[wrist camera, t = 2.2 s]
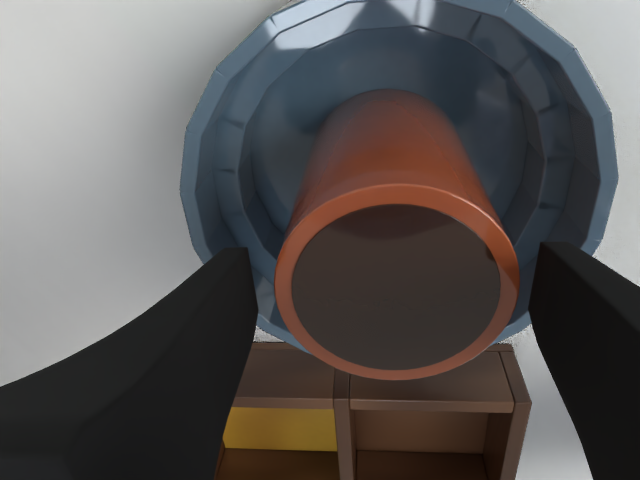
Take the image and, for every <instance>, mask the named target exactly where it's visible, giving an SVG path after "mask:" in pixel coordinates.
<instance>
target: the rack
mask: <svg viewBox="0 0 640 480" xmlns="http://www.w3.org/2000/svg"><path fill="white" fill-rule="evenodd" d="M531 405H532V402H531V399H530V396H529V393H528V390H527V388H526V385H525V382H524V379H523V376H522V374H521V371H520V368H519V365H518V362H517V360H516V357H515V354H514V351H513V348H512V345H511V344H493V345H491V346H489V347H487V348H486V349H485V350H484V351H483V352H481V353H480V354H479V355H477V356H476V357H474V358H473V359H471V360H469V361H468V362H466V363H464V364H462V365H460V366H458V367H456V368H454V369H451V370H449V371H446V372H443V373H440V374H437V375H433V376H429V377H424V378H418V379H410V380H380V379H373V378H366V377H362V376H358V375H354V374H350V373H348V372H345V371H342V370H339V369H337V368H335V367H333V366H331V365H329V364H327V363H325V362H323V361H322V360H320V359H318V358H317V357H315V356H314V355H311V354H309V353H306V352H304V351H302V350H300V349H298V348H296V347H294V346H292V345H291V344H289V343H253V344H252V347H251V350H250V353H249V356H248V359H247V362H246V365H245V368H244V371H243V374H242V377H241V380H240V383H239V386H238V389H237V392H236V395H235V398H234V401H233V404H232V407H231V410H230V413H229V416H228V420H227V423H226V427H225V430H224V434H223V438H222V443H221V447H220V452H219V457H218V461H217V466H216V470H215V475H214V480H515V477H516V473H517V468H518V463H519V459H520V454H521V450H522V445H523V441H524V436H525V432H526V427H527V423H528V418H529V414H530V409H531Z"/></svg>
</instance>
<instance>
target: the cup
mask: <svg viewBox="0 0 640 480" xmlns="http://www.w3.org/2000/svg"><path fill="white" fill-rule="evenodd" d="M519 289H520V271H519V264H518V260H517V256H516V253H515V251H514V249H513V246H512V244H511V242H510V240H509V238H508V236H507V233H506V231H505V229H504V227H503V225H502V223H501V221H500V219H499V217H498V215H497V213H496V210H495V208H494V206H493V204H492V202H491V200H490V198H489V196H488V194H487V192H486V190H485V188H484V185H483V183H482V181H481V179H480V177H479V175H478V173H477V171H476V169H475V167H474V165H473V162H472V160H471V158H470V156H469V154H468V152H467V150H466V148H465V146H464V144H463V142H462V139H461V137H460V135H459V133H458V131H457V129H456V127H455V125H454V124H453V122H452V121H451V119H450V118H449V117H448V115H447V114H446V113H445V112H444V111H443V110H442V109H441V108H440V107H439V106H437V105H436V104H435V103H433V102H432V101H430V100H429V99H427V98H425V97H423V96H421V95H418V94H416V93H413V92H409V91H406V90H399V89H378V90H372V91H368V92H364V93H361V94H358V95H356V96H353V97H351V98H349V99H348V100H346V101H344V102H342V103H341V104H340V105H338V106H337V107H336V108H334V109H333V110H332V111H331V112H330V113H329V114H328V115H327V116H326V118H325V119H324V120H323V122H322V123H321V124H320V126H319V128H318V129H317V131H316V133H315V135H314V138H313V140H312V143H311V146H310V150H309V153H308V157H307V160H306V163H305V167H304V170H303V174H302V177H301V180H300V184H299V187H298V191H297V194H296V197H295V201H294V204H293V208H292V211H291V214H290V218H289V221H288V224H287V228H286V231H285V235H284V238H283V241H282V245H281V248H280V252H279V255H278V259H277V263H276V266H275V272H274V295H275V299H276V303H277V307H278V310H279V312H280V315H281V317H282V319H283V321H284V323H285V325H286V326H287V328H288V330H289V331H290V332H291V334H292V335H293V336H294V338H295V339H296V340H297V341H298V342H299V343H300V344H301V345H302V346H303V347H304V348H305V349H306V350H308V351H309V352H310V353H311V354H313V355H314V356H315V357H317V358H318V359H320V360H322V361H323V362H325V363H327V364H329V365H331V366H333V367H335V368H337V369H339V370H342V371H345V372H348V373H350V374H354V375H358V376H362V377H366V378H373V379H380V380H410V379H418V378H424V377H429V376H433V375H437V374H440V373H443V372H446V371H449V370H451V369H454V368H456V367H458V366H460V365H462V364H464V363H466V362H468V361H469V360H471V359H473V358H474V357H476V356H477V355H479V354H480V353H481V352H483V351H484V350H485V349H486V348H487V347H489V346H490V345H491V344H492V343H493V342H494V341H495V340H496V339H497V337H498V336H499V335H500V334H501V333H502V331H503V330H504V328H505V327H506V325H507V324H508V322H509V320H510V319H511V316H512V314H513V312H514V310H515V307H516V304H517V300H518V296H519Z"/></svg>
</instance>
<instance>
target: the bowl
mask: <svg viewBox="0 0 640 480" xmlns="http://www.w3.org/2000/svg"><path fill="white" fill-rule="evenodd" d="M378 89H399V90H406V91H409V92H413V93H416V94H418V95H421V96H423V97H425V98H427V99H429V100H430V101H432V102H433V103H435V104H436V105H437V106H439V107H440V108H441V109H442V110H443V111H444V112H445V113H446V114H447V115H448V117H449V118H450V119H451V121H452V122H453V124H454V125H455V127H456V129H457V131H458V133H459V135H460V137H461V139H462V142H463V144H464V146H465V148H466V150H467V152H468V154H469V156H470V158H471V160H472V162H473V165H474V167H475V169H476V171H477V173H478V175H479V177H480V179H481V181H482V183H483V185H484V188H485V190H486V192H487V194H488V196H489V198H490V200H491V202H492V204H493V206H494V208H495V210H496V213H497V215H498V217H499V219H500V221H501V223H502V225H503V227H504V229H505V231H506V233H507V236H508V238H509V240H510V242H511V244H512V246H513V249H514V251H515V253H516V256H517V260H518V264H519V271H520V289H519V296H518V300H517V304H516V307H515V310H514V312H513V314H512V316H511V319H510V320H509V322H508V324H507V325H506V327H505V328H504V330H503V331H502V333H501V334H500V335H499V336H498V337H497V339H496V340H495V341H494V342H493V343H492V344H491V345H493V344H495V343H497V342H500V341H502V340H504V339H506V338H508V337H510V336H512V335H514V334H516V333H518V332H520V331H522V329H525V328H526V327H527V326H528V325H529V324H531V319H530V315H529V312H528V305H529V299H530V294H531V289H532V283H533V278H534V273H535V267H536V262H537V257H538V251H539V246H540V242H558V241H567V242H569V243H571V244H573V245H575V246H576V247H578V248H580V249H581V250H583V251H584V252H586V253H587V254H589V255H591V256H592V255H593V253H594V252H595V250H596V249H597V247H598V246H599V244H600V243H601V240H602V239H603V236H604V232H605V228H606V224H607V221H608V217H609V213H610V209H611V205H612V202H613V198H614V194H615V190H616V186H617V183H618V167H617V159H616V150H615V141H614V132H613V123H612V114H611V111H610V108H609V106H608V104H607V102H606V101H605V99H604V97H603V95H602V93H601V92H600V90H599V88H598V86H597V85H596V83H595V81H594V79H593V77H592V76H591V74H590V72H589V70H588V68H587V67H586V65H585V63H584V61H583V60H582V58H581V56H580V54H579V52H578V51H577V49H576V48H575V47H574V45H573V44H571V43H570V42H569V41H567V40H566V39H565V38H564V37H562V36H561V35H560V34H558V33H557V32H556V31H555V30H553V29H552V28H551V27H549V26H548V25H547V24H546V23H544V22H543V21H542V20H540V19H539V18H538V17H537V16H535V15H534V14H533V13H531V12H530V11H529V10H528V9H526V8H525V7H524V6H522V5H521V4H520V3H519V2H517V1H516V0H291V1H290V2H288V3H287V4H285V5H284V6H283V7H281V8H280V9H278V10H277V11H275V12H274V13H272V14H271V15H270V16H268V17H267V18H266V19H265V20H264V21H263V22H262V23H261V24H260V25H259V26H258V27H257V28H256V29H255V30H254V31H253V32H252V33H251V34H249V35H248V36H247V37H246V38H245V39H244V40H243V41H242V42H241V43H240V44H239V45H238V46H237V47H236V48H235V49H234V50H233V51H232V52H231V53H230V54H229V55H228V56H227V57H226V58H225V59H224V60H223V61H222V62H221V63H220V64H219V65H218V66H217V67H216V69H215V70H214V71H213V73H212V75H211V77H210V79H209V82H208V84H207V86H206V88H205V90H204V92H203V94H202V96H201V98H200V100H199V102H198V104H197V106H196V108H195V111H194V113H193V115H192V117H191V119H190V121H189V123H188V125H187V127H186V131H185V138H184V149H183V159H182V169H181V179H180V196H181V200H182V204H183V208H184V212H185V217H186V221H187V225H188V229H189V233H190V237H191V241H192V245H193V247H194V250H195V251H196V253H197V255H198V256H199V258H200V259H201V261H202V263H203V264H205V263H206V262H208V261H209V260H210V259H211V258H212V257H213V256H215V255H216V254H217V253H218V252H219V251H221V250H222V249H223V248H230V247H248V252H249V258H250V264H251V269H252V275H253V281H254V286H255V292H256V297H257V303H258V309H259V311H258V317H257V323H256V325H257V326H258V327H259V328H260V329H262V330H263V331H265V332H267V333H269V334H271V335H273V336H275V337H277V338H279V339H281V340H283V341H285V342H287V343H289V344H291V345H292V346H294V347H296V348H298V349H300V350H302V351H304V352H306V353H309V354H311V353H310V352H309V351H308V350H306V349H305V348H304V347H303V346H302V345H301V344H300V343H299V342H298V341H297V340H296V339H295V338H294V336H293V335H292V334H291V332H290V331H289V330H288V328H287V326H286V325H285V323H284V321H283V319H282V317H281V315H280V312H279V310H278V307H277V303H276V299H275V295H274V272H275V266H276V263H277V259H278V255H279V252H280V248H281V245H282V241H283V238H284V235H285V231H286V228H287V224H288V221H289V218H290V214H291V211H292V208H293V204H294V201H295V197H296V194H297V191H298V187H299V184H300V180H301V177H302V174H303V170H304V167H305V163H306V160H307V157H308V153H309V150H310V146H311V143H312V140H313V138H314V135H315V133H316V131H317V129H318V128H319V126H320V124H321V123H322V122H323V120H324V119H325V118H326V116H327V115H328V114H329V113H330V112H331V111H332V110H333V109H334V108H336V107H337V106H338V105H340V104H341V103H342V102H344V101H346V100H348V99H349V98H351V97H353V96H356V95H358V94H361V93H364V92H368V91H372V90H378ZM491 345H490V346H491ZM311 355H313V354H311Z"/></svg>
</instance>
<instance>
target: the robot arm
mask: <svg viewBox="0 0 640 480" xmlns="http://www.w3.org/2000/svg"><path fill="white" fill-rule="evenodd" d="M258 311H259V309H258V303H257V297H256V292H255V286H254V281H253V275H252V269H251V264H250V258H249V252H248V247H230V248H223V249H222V250H221V251H219V252H218V253H217V254H216V255H215V256H213V257H212V258H211V259H210V260H209V261H208V262H206V263H205V264H204V265H203V266H202V267H201V268H199V269H198V270H197V271H196V272H195V273H194V274H192V275H191V276H190V277H189V278H188V279H186V280H185V281H184V282H183V283H182V284H181V285H179V286H178V287H177V288H176V289H174V290H173V291H172V292H171V293H169V294H168V295H167V296H165V297H164V298H163V299H161V300H160V301H159V302H157V303H156V304H155V305H153V306H152V307H151V308H150V309H148V310H147V311H145V312H144V313H143V314H141V315H140V316H138V317H137V318H135V319H134V320H132V321H131V322H129V323H128V324H126V325H125V326H123V327H121V328H120V329H118V330H117V331H115V332H113V333H112V334H110V335H108V336H107V337H105V338H103V339H101V340H99V341H98V342H96V343H94V344H92V345H90V346H88V347H86V348H85V349H83V350H81V351H79V352H77V353H75V354H73V355H72V356H70V357H68V358H66V359H64V360H62V361H59V362H57V363H55V364H53V365H51V366H49V367H47V368H44V369H42V370H40V371H38V372H35V373H33V374H31V375H28V376H26V377H24V378H21V379H19V380H16V381H14V382H12V383H9V384H7V385H4V386H1V387H0V480H214V475H215V470H216V466H217V461H218V457H219V452H220V447H221V443H222V438H223V434H224V430H225V427H226V423H227V420H228V416H229V413H230V410H231V407H232V404H233V401H234V398H235V395H236V392H237V389H238V386H239V383H240V380H241V377H242V374H243V371H244V368H245V365H246V362H247V359H248V356H249V353H250V350H251V347H252V344H253V339H254V334H255V328H256V323H257V317H258ZM528 312H529V315H530V319H531V323H532V326H533V330H534V333H535V337H536V340H537V343H538V346H539V348H540V351H541V353H542V355H543V357H544V360H545V362H546V364H547V366H548V369H549V371H550V373H551V375H552V377H553V380H554V382H555V384H556V386H557V388H558V391H559V393H560V395H561V397H562V399H563V402H564V404H565V406H566V408H567V410H568V413H569V415H570V417H571V419H572V421H573V424H574V426H575V428H576V431H577V433H578V436H579V438H580V441H581V444H582V446H583V450H584V453H585V456H586V459H587V462H588V465H589V468H590V471H591V474H592V477H593V480H640V287H639V286H637V285H635V284H634V283H632V282H631V281H629V280H627V279H626V278H624V277H623V276H621V275H620V274H618V273H617V272H615V271H614V270H612V269H610V268H609V267H607V266H606V265H604V264H603V263H601V262H600V261H598V260H597V259H595V258H594V257H592V256H591V255H589V254H587V253H586V252H584V251H583V250H581V249H580V248H578V247H576V246H575V245H573V244H571V243H569V242H567V241H558V242H540V246H539V251H538V257H537V262H536V267H535V273H534V278H533V283H532V289H531V294H530V299H529V305H528Z"/></svg>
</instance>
